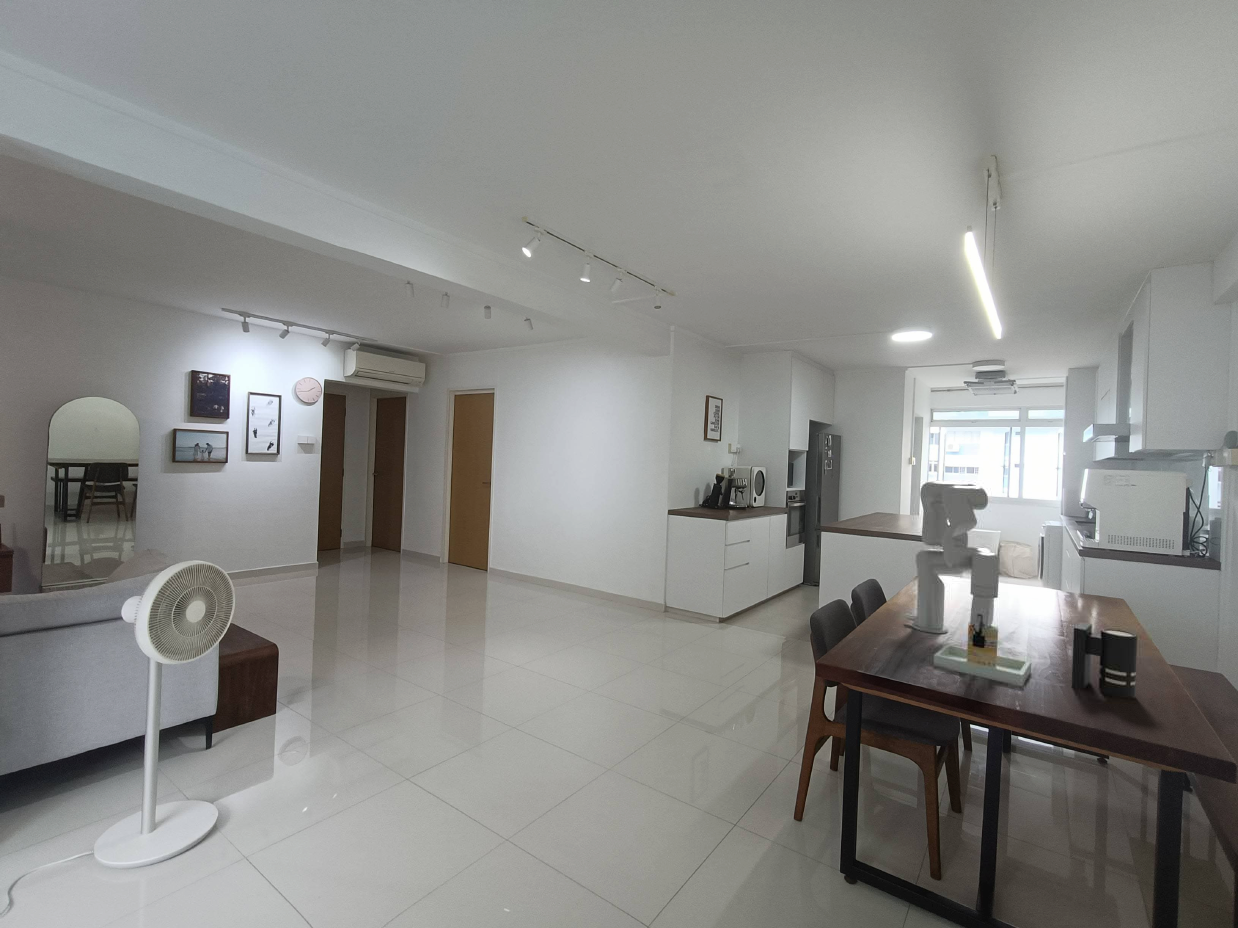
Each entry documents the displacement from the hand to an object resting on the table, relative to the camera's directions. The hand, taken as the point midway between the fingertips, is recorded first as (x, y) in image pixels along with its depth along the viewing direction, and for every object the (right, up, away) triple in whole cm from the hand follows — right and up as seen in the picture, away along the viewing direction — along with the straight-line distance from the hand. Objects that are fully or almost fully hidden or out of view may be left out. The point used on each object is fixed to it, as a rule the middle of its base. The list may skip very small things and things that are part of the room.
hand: (981, 643), depth 189 cm
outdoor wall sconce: (+27, -9, -15) cm, 32 cm away
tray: (0, -8, 0) cm, 8 cm away
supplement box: (0, -7, 0) cm, 7 cm away
